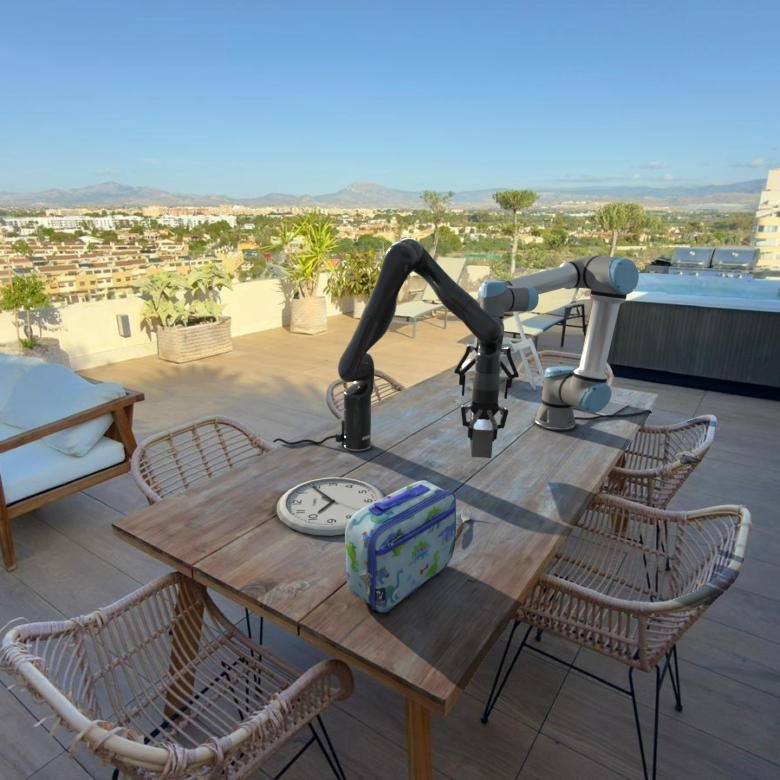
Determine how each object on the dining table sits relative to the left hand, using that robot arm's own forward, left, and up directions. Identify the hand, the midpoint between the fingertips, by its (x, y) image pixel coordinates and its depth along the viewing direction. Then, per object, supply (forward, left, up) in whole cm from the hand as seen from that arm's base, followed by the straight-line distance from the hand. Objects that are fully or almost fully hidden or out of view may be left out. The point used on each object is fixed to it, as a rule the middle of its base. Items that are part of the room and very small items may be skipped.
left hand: (481, 439), depth 156 cm
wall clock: (-28, -37, -13) cm, 48 cm away
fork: (+6, -28, -13) cm, 32 cm away
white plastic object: (-29, +102, -13) cm, 107 cm away
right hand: (-6, +16, +8) cm, 19 cm away
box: (-3, +7, -4) cm, 9 cm away
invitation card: (+20, +93, -13) cm, 96 cm away
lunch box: (+4, -55, -13) cm, 57 cm away
